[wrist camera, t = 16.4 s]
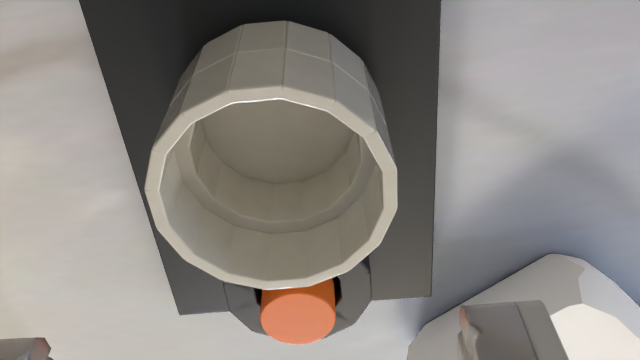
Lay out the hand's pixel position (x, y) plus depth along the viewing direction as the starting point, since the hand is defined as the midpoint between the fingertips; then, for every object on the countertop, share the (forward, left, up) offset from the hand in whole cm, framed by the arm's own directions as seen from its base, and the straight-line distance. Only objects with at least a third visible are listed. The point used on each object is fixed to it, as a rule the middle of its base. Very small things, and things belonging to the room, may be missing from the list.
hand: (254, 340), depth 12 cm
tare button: (+7, 0, -9) cm, 12 cm away
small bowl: (0, 0, -10) cm, 10 cm away
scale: (+3, 0, -12) cm, 12 cm away
